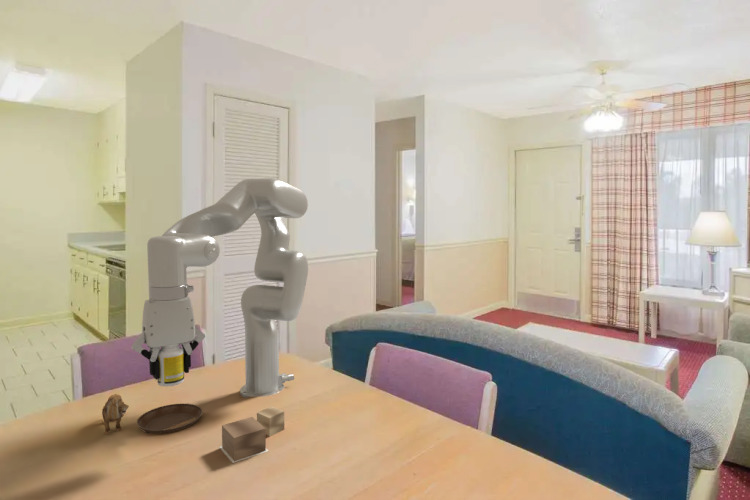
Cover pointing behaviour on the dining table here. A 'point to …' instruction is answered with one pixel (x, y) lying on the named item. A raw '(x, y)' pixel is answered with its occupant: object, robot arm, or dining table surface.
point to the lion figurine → (113, 412)
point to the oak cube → (271, 420)
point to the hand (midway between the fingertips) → (170, 373)
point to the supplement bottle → (171, 365)
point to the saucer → (168, 418)
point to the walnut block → (243, 438)
